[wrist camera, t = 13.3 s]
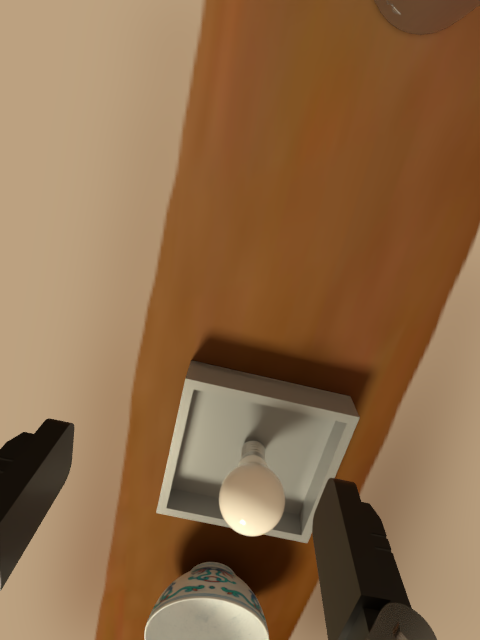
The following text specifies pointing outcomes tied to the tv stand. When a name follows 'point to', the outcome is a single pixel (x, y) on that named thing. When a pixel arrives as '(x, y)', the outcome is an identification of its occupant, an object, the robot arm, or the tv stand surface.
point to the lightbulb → (252, 494)
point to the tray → (254, 425)
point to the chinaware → (207, 608)
